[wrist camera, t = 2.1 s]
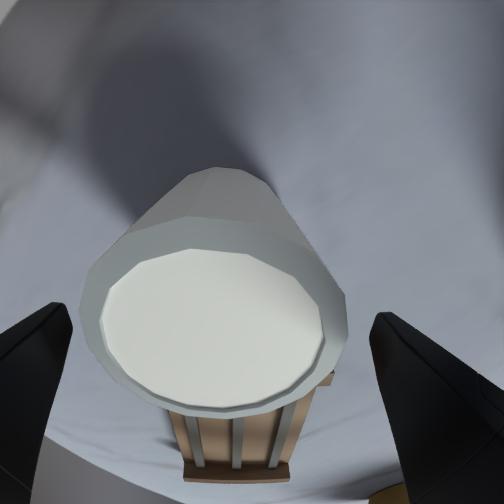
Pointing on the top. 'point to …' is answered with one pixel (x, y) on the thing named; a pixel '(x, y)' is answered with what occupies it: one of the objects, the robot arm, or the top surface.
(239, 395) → the white tapered cylinder
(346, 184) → the top surface
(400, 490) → the plant pot
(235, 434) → the rack
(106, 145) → the top surface
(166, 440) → the top surface
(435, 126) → the top surface
